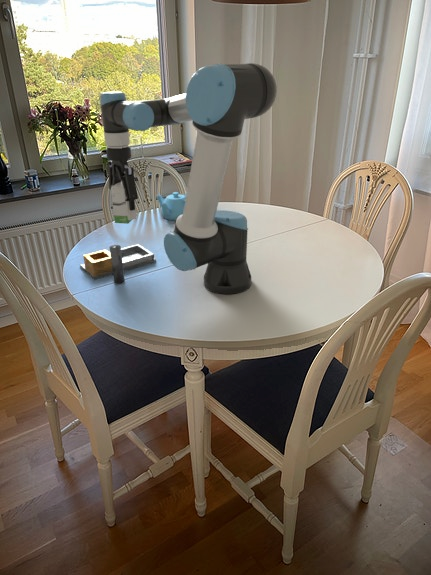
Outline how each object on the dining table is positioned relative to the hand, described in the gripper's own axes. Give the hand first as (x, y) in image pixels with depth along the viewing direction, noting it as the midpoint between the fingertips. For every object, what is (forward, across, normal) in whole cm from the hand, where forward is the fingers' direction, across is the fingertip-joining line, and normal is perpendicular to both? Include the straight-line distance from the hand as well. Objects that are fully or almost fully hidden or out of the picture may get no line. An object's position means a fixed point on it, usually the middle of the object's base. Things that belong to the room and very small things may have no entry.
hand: (125, 215), depth 149 cm
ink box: (+2, 0, 0) cm, 2 cm away
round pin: (+17, -12, +10) cm, 23 cm away
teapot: (+17, +32, -39) cm, 53 cm away
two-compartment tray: (+17, 0, +4) cm, 17 cm away
